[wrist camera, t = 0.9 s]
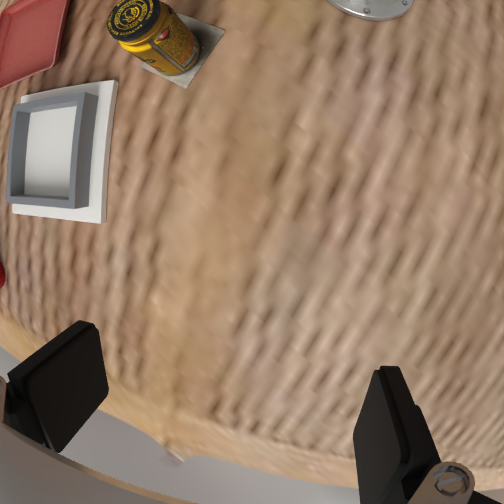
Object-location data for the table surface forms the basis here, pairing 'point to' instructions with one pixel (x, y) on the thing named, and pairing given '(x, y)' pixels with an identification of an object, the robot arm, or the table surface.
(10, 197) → the holder
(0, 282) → the plastic cup
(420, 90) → the table surface
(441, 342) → the table surface
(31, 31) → the plant saucer
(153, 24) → the condiment
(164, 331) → the table surface
